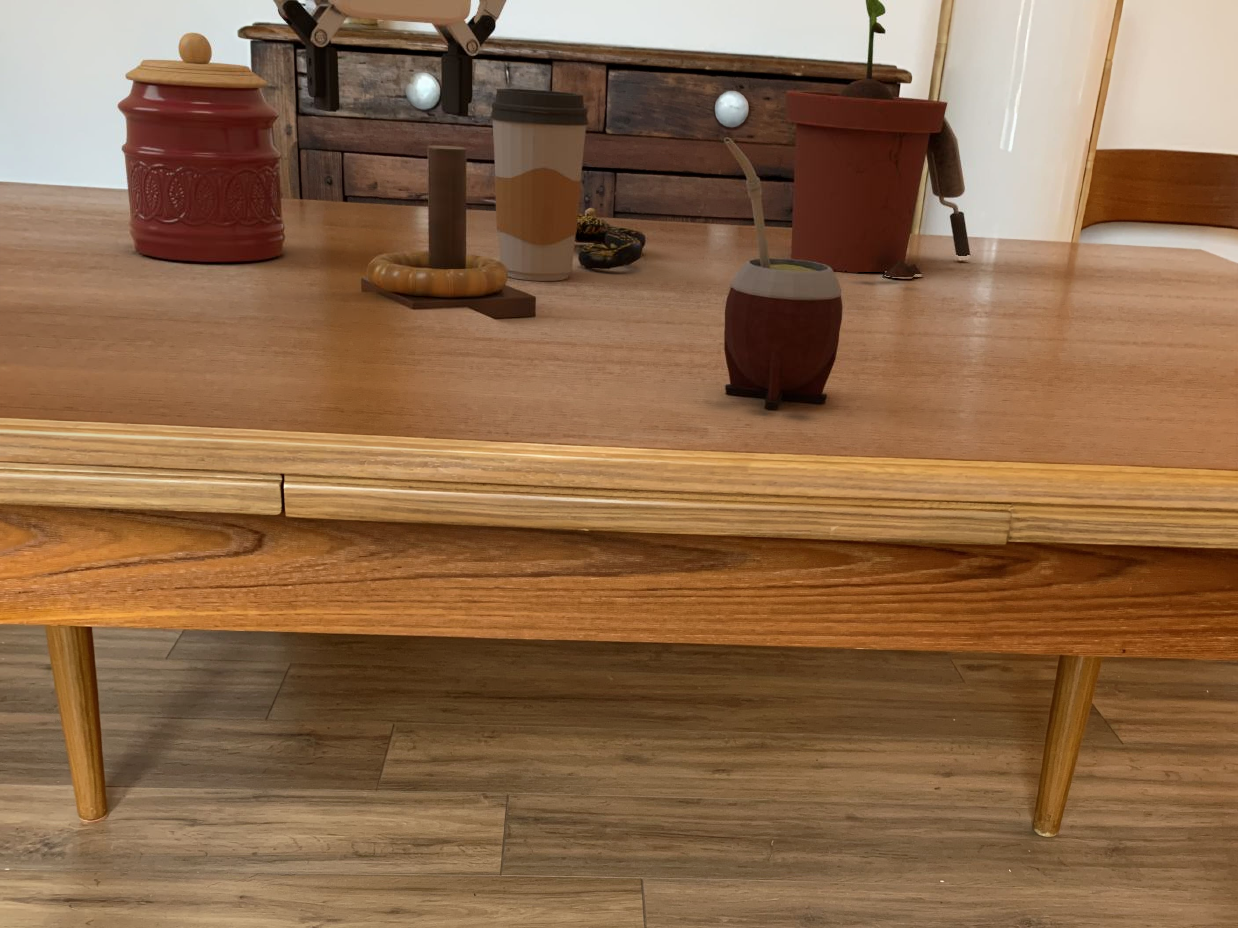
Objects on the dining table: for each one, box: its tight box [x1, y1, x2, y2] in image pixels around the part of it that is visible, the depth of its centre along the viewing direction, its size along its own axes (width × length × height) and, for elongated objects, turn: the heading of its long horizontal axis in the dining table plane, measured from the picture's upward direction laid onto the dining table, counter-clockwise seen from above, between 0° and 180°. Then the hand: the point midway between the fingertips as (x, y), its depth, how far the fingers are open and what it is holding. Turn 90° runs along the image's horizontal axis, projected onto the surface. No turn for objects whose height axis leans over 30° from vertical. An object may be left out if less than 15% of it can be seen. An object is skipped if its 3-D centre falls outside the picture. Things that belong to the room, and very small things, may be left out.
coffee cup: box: [490, 88, 589, 282], centre depth 116 cm, size 8×8×15 cm
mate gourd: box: [723, 136, 843, 411], centre depth 80 cm, size 8×8×15 cm
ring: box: [365, 250, 509, 298], centre depth 102 cm, size 10×10×2 cm
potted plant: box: [785, 0, 971, 280], centre depth 133 cm, size 18×22×25 cm
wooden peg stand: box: [360, 145, 537, 319], centre depth 101 cm, size 10×10×12 cm
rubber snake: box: [575, 207, 646, 270], centre depth 130 cm, size 18×5×10 cm
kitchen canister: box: [117, 32, 286, 263], centre depth 115 cm, size 13×13×18 cm
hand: (392, 112), depth 95 cm, fingers open, 9 cm apart
